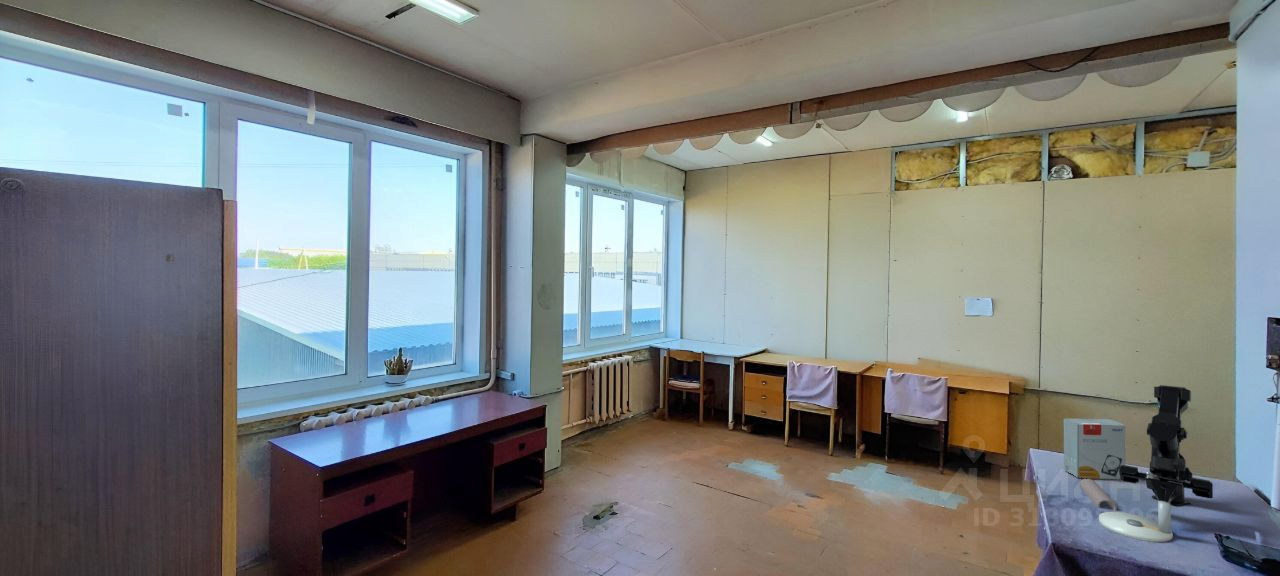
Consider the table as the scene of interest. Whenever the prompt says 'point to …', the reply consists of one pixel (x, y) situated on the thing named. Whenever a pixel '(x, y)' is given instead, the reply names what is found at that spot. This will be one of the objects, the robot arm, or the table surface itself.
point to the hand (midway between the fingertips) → (1163, 508)
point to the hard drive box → (1094, 448)
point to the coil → (1096, 493)
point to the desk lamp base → (1140, 524)
